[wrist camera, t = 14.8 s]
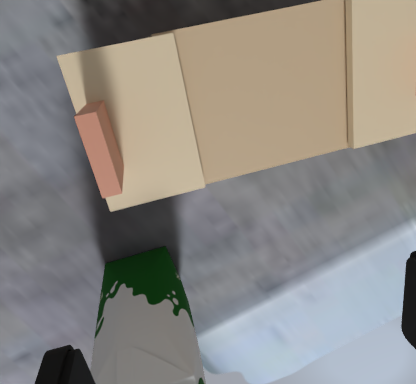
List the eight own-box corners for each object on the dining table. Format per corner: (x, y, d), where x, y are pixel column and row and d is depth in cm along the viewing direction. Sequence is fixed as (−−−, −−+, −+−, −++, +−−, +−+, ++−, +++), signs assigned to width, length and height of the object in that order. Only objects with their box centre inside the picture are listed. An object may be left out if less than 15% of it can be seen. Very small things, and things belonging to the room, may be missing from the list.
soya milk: (188, 295, 42) (231, 474, 24) (117, 317, 41) (105, 521, 23) (171, 236, 39) (206, 394, 21) (93, 259, 38) (57, 446, 20)
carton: (309, 6, 33) (360, -8, 25) (316, 127, 38) (360, 144, 30) (146, 39, 31) (150, 33, 24) (175, 162, 36) (187, 189, 28)
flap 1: (171, 33, 24) (184, 25, 18) (203, 183, 28) (221, 216, 22) (58, 56, 23) (34, 55, 17) (110, 207, 27) (105, 247, 22)
